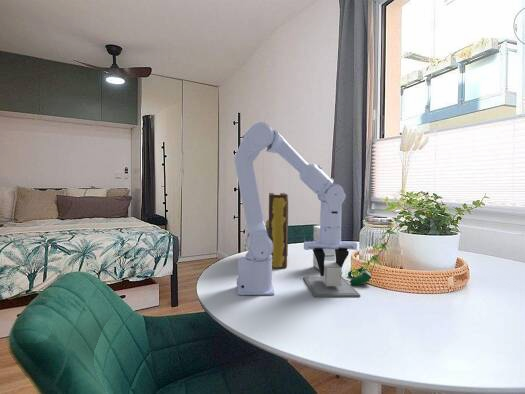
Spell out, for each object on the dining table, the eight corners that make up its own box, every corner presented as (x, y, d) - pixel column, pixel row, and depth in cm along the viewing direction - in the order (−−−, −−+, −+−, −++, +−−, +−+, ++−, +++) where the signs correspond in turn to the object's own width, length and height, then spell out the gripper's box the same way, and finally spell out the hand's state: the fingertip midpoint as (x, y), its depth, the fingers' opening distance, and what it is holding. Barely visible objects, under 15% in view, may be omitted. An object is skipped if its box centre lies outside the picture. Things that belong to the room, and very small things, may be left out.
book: (290, 269, 102) (291, 195, 100) (265, 268, 102) (266, 194, 101) (286, 253, 124) (287, 192, 123) (265, 253, 124) (266, 192, 123)
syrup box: (335, 270, 100) (336, 227, 100) (319, 271, 99) (320, 227, 98) (327, 265, 106) (328, 224, 105) (312, 266, 105) (313, 225, 104)
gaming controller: (358, 292, 85) (374, 279, 84) (348, 282, 86) (365, 269, 85) (355, 282, 94) (369, 270, 93) (346, 273, 95) (361, 261, 94)
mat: (314, 297, 77) (314, 294, 77) (303, 278, 92) (303, 276, 92) (360, 296, 77) (360, 294, 77) (342, 278, 92) (342, 276, 92)
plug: (326, 286, 80) (326, 267, 80) (317, 275, 90) (318, 258, 89) (341, 286, 80) (341, 267, 80) (331, 275, 90) (331, 258, 90)
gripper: (307, 228, 79) (306, 279, 80) (361, 228, 80) (360, 279, 81) (302, 225, 86) (301, 271, 87) (352, 225, 87) (351, 271, 88)
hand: (329, 274), depth 84 cm, fingers closed on plug, 4 cm apart
